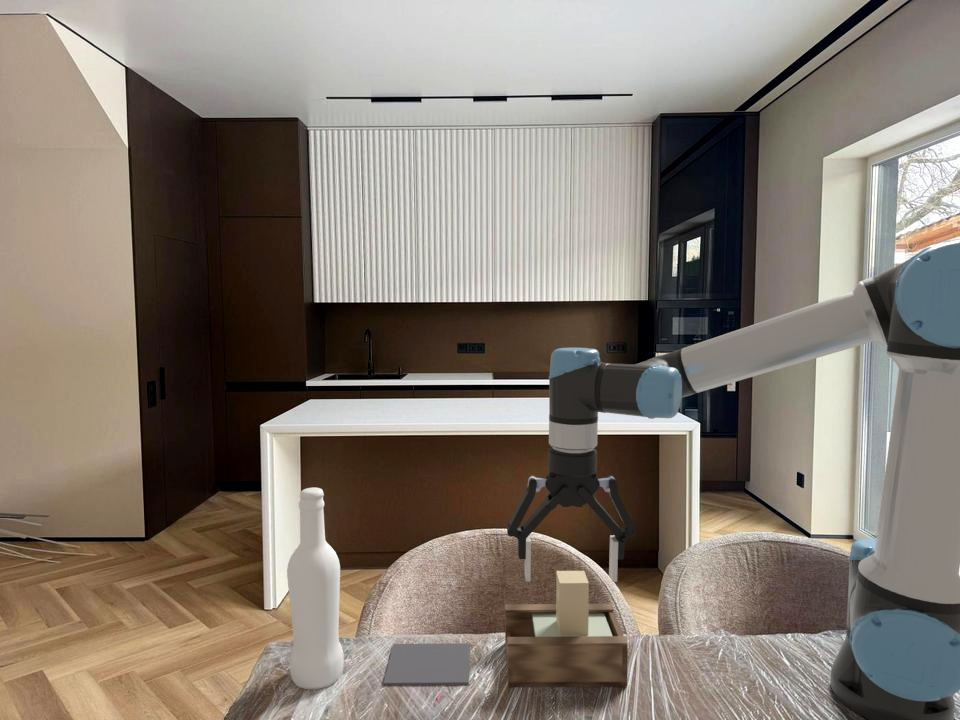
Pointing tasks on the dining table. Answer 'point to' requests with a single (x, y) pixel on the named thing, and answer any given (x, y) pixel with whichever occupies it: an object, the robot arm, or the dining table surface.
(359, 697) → the dining table surface
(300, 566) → the bottle
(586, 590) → the lid
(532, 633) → the walnut box
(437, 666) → the mat
